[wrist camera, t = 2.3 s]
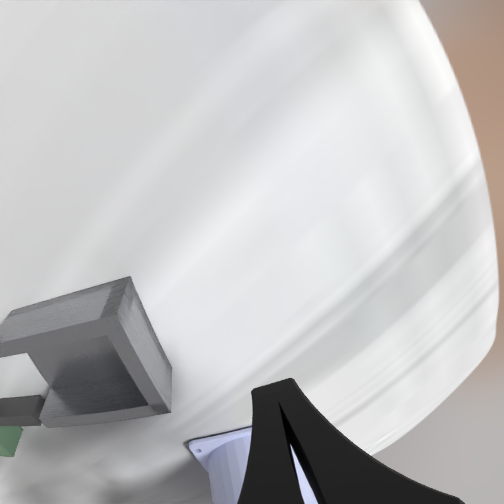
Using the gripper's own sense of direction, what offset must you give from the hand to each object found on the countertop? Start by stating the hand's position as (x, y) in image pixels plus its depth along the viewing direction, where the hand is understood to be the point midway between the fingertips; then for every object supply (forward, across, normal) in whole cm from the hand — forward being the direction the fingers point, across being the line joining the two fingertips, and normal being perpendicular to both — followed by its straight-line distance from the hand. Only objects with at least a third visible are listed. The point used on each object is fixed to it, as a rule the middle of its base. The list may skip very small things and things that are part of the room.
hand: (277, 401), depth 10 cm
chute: (+7, +9, 0) cm, 11 cm away
